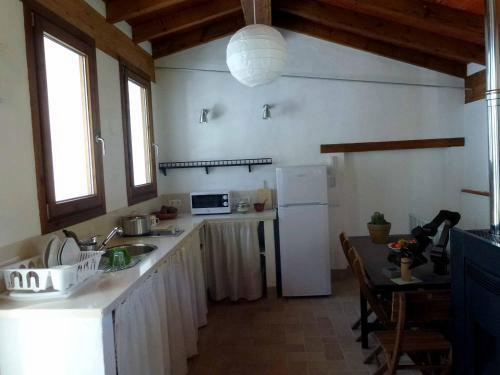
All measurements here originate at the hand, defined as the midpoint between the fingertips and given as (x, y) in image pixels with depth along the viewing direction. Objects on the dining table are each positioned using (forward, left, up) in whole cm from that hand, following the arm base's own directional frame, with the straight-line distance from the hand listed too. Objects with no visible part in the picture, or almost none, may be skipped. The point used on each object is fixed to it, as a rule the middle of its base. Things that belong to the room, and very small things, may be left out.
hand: (403, 267), depth 213 cm
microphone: (-14, -31, -9) cm, 35 cm away
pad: (-1, 0, -9) cm, 9 cm away
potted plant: (-36, -89, -9) cm, 97 cm away
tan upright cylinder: (-1, 0, -8) cm, 8 cm away
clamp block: (-1, -12, -9) cm, 15 cm away
